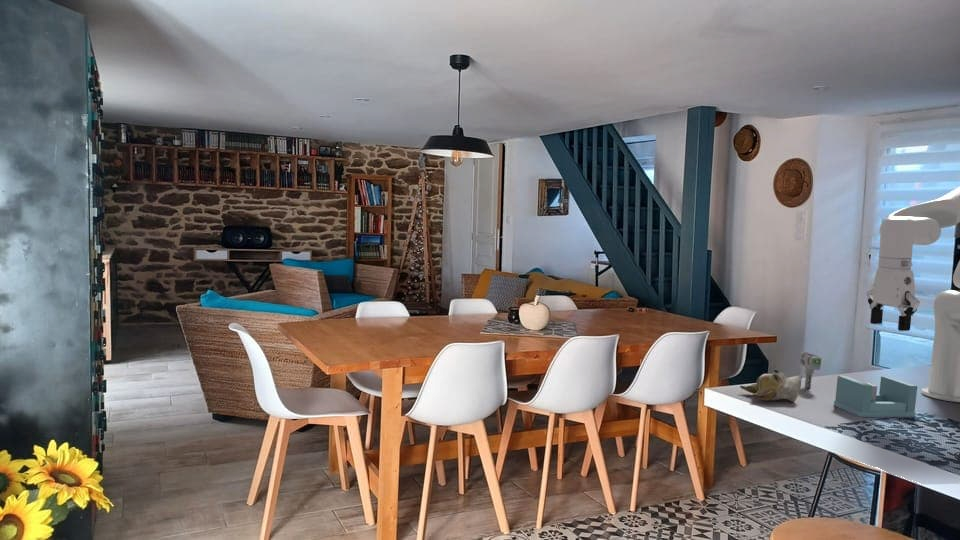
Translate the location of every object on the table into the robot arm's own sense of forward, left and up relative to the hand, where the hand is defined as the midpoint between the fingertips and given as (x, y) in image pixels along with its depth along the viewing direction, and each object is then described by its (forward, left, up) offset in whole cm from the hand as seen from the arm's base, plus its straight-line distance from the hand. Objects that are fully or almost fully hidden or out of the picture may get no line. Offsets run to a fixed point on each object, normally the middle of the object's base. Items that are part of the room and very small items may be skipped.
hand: (889, 326), depth 182 cm
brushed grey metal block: (+9, +5, -21) cm, 23 cm away
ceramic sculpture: (+29, -5, -22) cm, 37 cm away
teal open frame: (+6, +5, -22) cm, 23 cm away
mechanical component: (+9, -18, -22) cm, 30 cm away
